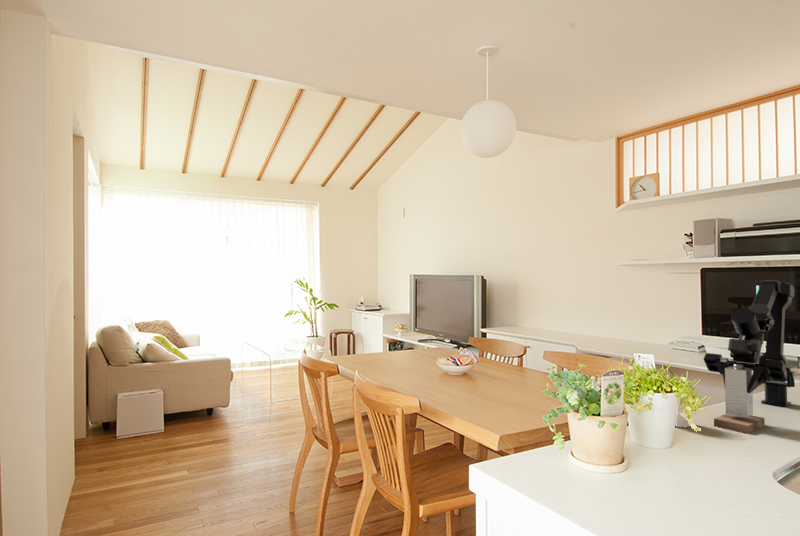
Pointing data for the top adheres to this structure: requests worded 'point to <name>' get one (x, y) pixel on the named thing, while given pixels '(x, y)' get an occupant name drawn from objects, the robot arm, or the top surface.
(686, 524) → the top surface
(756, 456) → the top surface
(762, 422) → the plinth
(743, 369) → the housing
